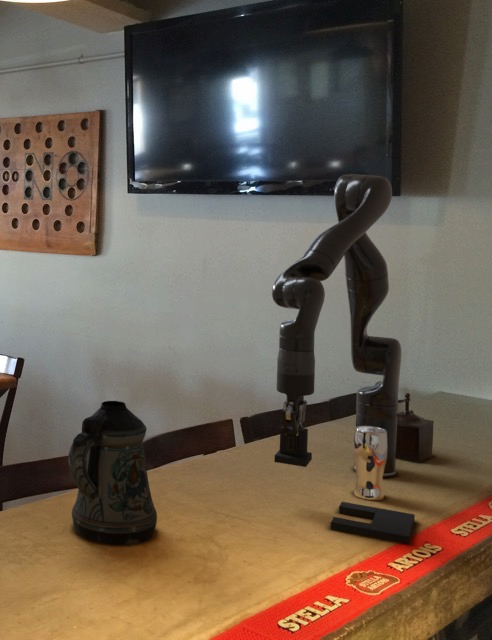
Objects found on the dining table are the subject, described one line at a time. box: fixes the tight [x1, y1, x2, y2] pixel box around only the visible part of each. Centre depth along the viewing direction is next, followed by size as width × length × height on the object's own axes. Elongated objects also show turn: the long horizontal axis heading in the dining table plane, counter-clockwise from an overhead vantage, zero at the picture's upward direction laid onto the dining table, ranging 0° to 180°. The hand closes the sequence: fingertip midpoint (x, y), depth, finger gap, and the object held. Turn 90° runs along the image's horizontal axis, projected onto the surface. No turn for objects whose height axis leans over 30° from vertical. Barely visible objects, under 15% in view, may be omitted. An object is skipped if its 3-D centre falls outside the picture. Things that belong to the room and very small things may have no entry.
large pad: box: [330, 501, 416, 545], centre depth 162 cm, size 14×14×2 cm
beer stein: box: [67, 400, 158, 546], centre depth 156 cm, size 16×19×25 cm
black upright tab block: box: [273, 425, 313, 468], centre depth 171 cm, size 6×6×7 cm
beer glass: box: [352, 426, 388, 501], centre depth 180 cm, size 7×7×15 cm
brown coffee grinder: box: [374, 380, 435, 463], centre depth 215 cm, size 16×11×18 cm
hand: (293, 450), depth 171 cm, fingers closed on black upright tab block, 2 cm apart
